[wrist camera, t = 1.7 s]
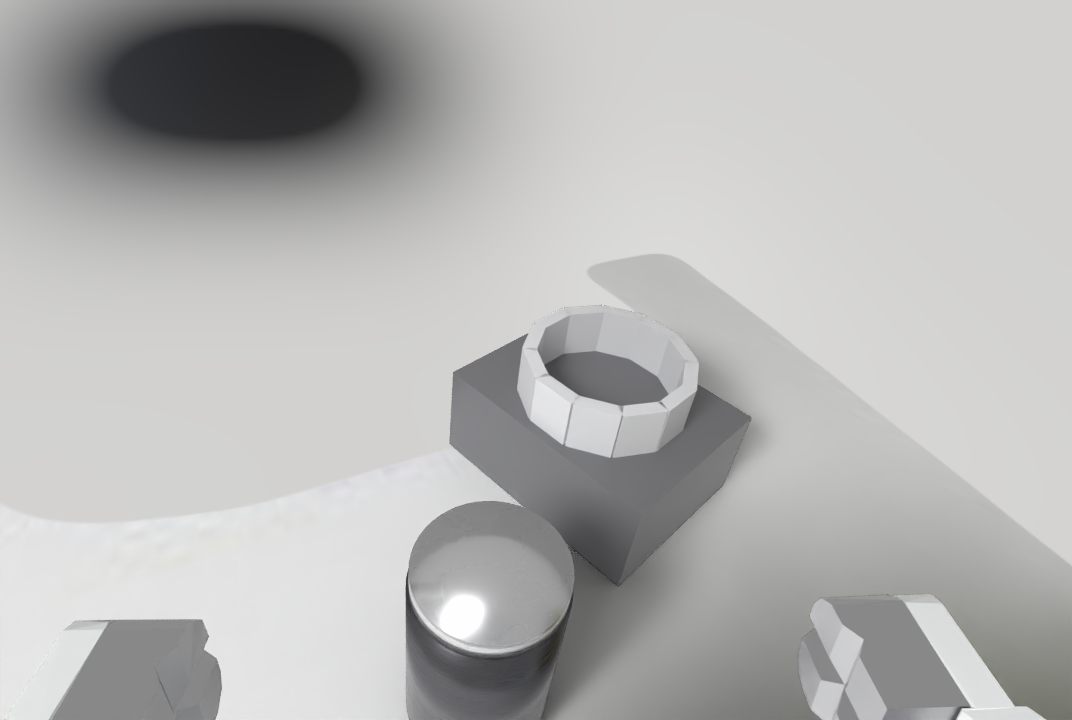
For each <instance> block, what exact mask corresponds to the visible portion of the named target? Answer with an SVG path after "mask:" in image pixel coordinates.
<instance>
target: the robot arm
mask: <svg viewBox="0 0 1072 720" xmlns="http://www.w3.org/2000/svg"><path fill="white" fill-rule="evenodd" d="M810 618H811V620H812V622H813V625H814V627H815V628H814V629H813V630H812V631H811V632H809V633H808V634H807V635H805V636H804V637H803V638H802V641H801V645H800V648H799V652H798V667H799V677H800V681H801V685H802V689H803V692H804V695H805V697H806V700H807V702H808V704H809V707H810V709H811V711H813V712H814V713H815V714H816V715H817V716H818V717H820V718H821V719H822V720H1046V719H1045V718H1043V717H1042V716H1040V715H1039V714H1037V713H1036V712H1035V711H1033V710H1032V709H1030V708H1029V707H1027V706H1015V705H1014V704H1013V703H1012V701H1011V700H1010V698H1009V697H1008V695H1007V694H1006V693H1005V691H1004V690H1003V688H1002V687H1001V686H1000V684H999V683H998V681H997V680H996V679H995V677H994V676H993V674H992V673H991V671H990V670H989V669H988V667H987V666H986V664H985V663H984V662H983V660H982V659H981V657H980V656H979V655H978V653H977V652H976V650H975V649H974V648H973V646H972V645H971V643H970V642H969V640H968V639H967V638H966V636H965V635H964V633H963V632H962V631H961V629H960V628H959V626H958V625H957V624H956V622H955V621H954V619H953V618H952V617H951V615H950V614H949V612H948V611H947V609H946V608H945V607H944V605H943V604H942V603H941V601H940V600H938V599H937V598H936V597H934V596H933V595H931V594H916V595H893V596H890V595H869V596H848V597H827V598H820V599H819V600H818V601H816V602H815V603H814V605H813V608H812V611H811V613H810ZM208 637H209V635H208V633H207V630H206V628H205V625H204V623H203V621H202V620H93V621H75V622H73V623H72V624H71V625H70V626H68V627H67V628H66V629H65V630H63V631H62V632H61V633H60V635H59V636H58V638H57V639H56V641H55V643H54V644H53V646H52V647H51V649H50V650H49V652H48V653H47V655H46V656H45V658H44V659H43V661H42V663H41V664H40V666H39V667H38V669H37V670H36V672H35V673H34V675H33V676H32V678H31V679H30V681H29V682H28V684H27V686H26V687H25V689H24V690H23V692H22V693H21V695H20V696H19V698H18V699H17V701H16V702H15V704H14V706H13V707H12V709H11V710H10V712H9V713H8V715H7V716H6V718H5V719H4V720H215V719H216V716H217V713H218V709H219V702H220V696H221V690H222V683H221V671H220V668H219V664H218V661H217V659H216V658H215V657H213V656H212V655H211V654H209V653H208V652H206V651H205V650H204V647H205V645H206V642H207V640H208Z"/></svg>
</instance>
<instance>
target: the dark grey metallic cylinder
mask: <svg viewBox="0 0 1072 720" xmlns="http://www.w3.org/2000/svg"><path fill="white" fill-rule="evenodd" d="M574 580H575V570H574V563H573V559H572V556H571V552H570V550H569V548H568V546H567V544H566V542H565V541H564V539H563V537H562V536H561V535H560V534H559V532H558V531H557V530H556V529H555V528H554V527H553V526H552V525H551V524H550V523H549V522H548V521H546V520H545V519H544V518H542V517H541V516H539V515H538V514H536V513H534V512H533V511H530V510H528V509H526V508H524V507H521V506H518V505H514V504H510V503H505V502H497V501H482V502H473V503H469V504H464V505H461V506H458V507H455V508H453V509H451V510H449V511H447V512H445V513H443V514H442V515H440V516H438V517H437V518H436V519H435V520H433V521H432V522H431V523H430V524H429V525H428V526H427V527H426V528H425V529H424V530H423V532H422V533H421V534H420V536H419V537H418V539H417V541H416V542H415V544H414V547H413V549H412V552H411V556H410V560H409V568H408V573H407V577H406V705H407V713H408V718H409V720H541V718H542V715H543V711H544V707H545V703H546V700H547V696H548V692H549V688H550V685H551V681H552V677H553V673H554V670H555V666H556V662H557V658H558V655H559V651H560V647H561V643H562V640H563V636H564V632H565V628H566V625H567V621H568V617H569V613H570V610H571V606H572V600H573V587H574Z"/></svg>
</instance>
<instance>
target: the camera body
mask: <svg viewBox="0 0 1072 720" xmlns="http://www.w3.org/2000/svg"><path fill="white" fill-rule="evenodd" d="M698 362H699V361H698V360H697V358H696V357H695V355H694V354H693V353H692V351H691V350H690V349H689V347H688V346H687V345H686V343H685V342H684V340H683V339H682V338H681V336H680V335H678V334H677V333H676V332H674V331H672V330H670V329H669V328H667V327H665V326H663V325H662V324H660V323H658V322H657V321H655V320H653V319H651V318H650V317H648V316H646V315H644V316H643V314H640V313H636V312H632V311H627V310H623V309H619V308H614V307H610V306H605V305H604V306H602V305H594V306H578V307H564V309H563V308H561V309H559V310H557V311H555V312H553V313H551V314H550V315H547V316H545V317H543V318H541V319H539V320H537V321H536V322H534V323H533V324H532V327H531V329H530V331H529V333H528V334H526V335H524V336H522V337H520V338H518V339H516V340H514V341H512V342H511V343H509V344H507V345H505V346H503V347H501V348H499V349H497V350H495V351H493V352H491V353H489V354H487V355H485V356H484V357H482V358H480V359H478V360H476V361H474V362H472V363H470V364H468V365H466V366H464V367H462V368H460V369H459V370H457V371H455V372H453V388H452V407H451V425H450V444H451V445H452V446H453V447H454V448H455V449H456V450H458V451H459V452H460V453H461V454H462V455H464V456H465V457H466V458H467V459H468V460H469V461H471V462H472V463H473V464H474V465H475V466H477V467H478V468H479V469H480V470H481V471H482V472H484V473H485V474H486V475H487V476H488V477H489V478H491V479H492V480H493V481H494V482H495V483H497V484H498V485H499V486H500V487H501V488H502V489H504V490H505V491H506V492H507V493H508V494H510V495H511V496H512V497H513V498H514V499H515V500H517V501H518V502H519V503H520V504H521V505H523V506H524V507H525V508H526V509H528V510H530V511H533V512H534V513H536V514H538V515H539V516H541V517H542V518H544V519H545V520H546V521H548V522H549V523H550V524H551V525H552V526H553V527H554V528H555V529H556V530H557V531H558V532H559V534H560V535H561V536H562V537H563V539H564V541H565V542H566V543H567V544H569V545H570V546H571V547H572V548H573V549H574V550H576V551H577V552H578V553H579V554H580V555H582V556H583V557H584V558H585V559H586V560H587V561H589V562H590V563H591V564H592V565H593V566H595V567H596V568H597V569H598V570H599V571H600V572H602V573H603V574H604V575H605V576H606V577H608V578H609V579H610V580H611V581H612V582H613V583H615V584H616V585H617V586H619V585H620V584H621V583H622V582H623V581H624V580H625V579H626V578H627V577H628V576H629V575H630V574H631V573H633V572H634V571H635V570H636V569H637V568H638V567H639V566H640V565H641V564H642V563H643V562H644V561H645V560H646V559H647V558H648V557H649V556H650V555H651V554H652V553H653V552H654V551H655V550H656V549H657V548H658V547H659V546H660V545H662V544H663V543H664V542H665V541H666V540H667V539H668V538H669V537H670V536H671V535H672V534H673V533H674V532H675V531H676V530H677V529H678V528H679V527H680V526H681V525H682V524H683V523H684V522H685V521H686V520H687V519H688V518H689V517H691V516H692V515H693V514H694V513H695V512H696V511H697V510H698V509H699V508H700V507H701V506H702V505H703V504H704V503H705V502H706V501H707V500H708V499H709V498H710V497H711V496H712V495H713V494H714V493H715V492H716V491H717V490H718V489H719V488H721V487H722V486H723V483H724V481H725V479H726V476H727V474H728V472H729V469H730V467H731V465H732V462H733V460H734V458H735V456H736V453H737V451H738V449H739V446H740V444H741V442H742V439H743V437H744V435H745V432H746V430H747V428H748V425H749V423H750V421H751V417H750V416H748V415H746V414H745V413H743V412H742V411H740V410H738V409H737V408H735V407H733V406H732V405H730V404H728V403H727V402H725V401H724V400H722V399H720V398H719V397H717V396H715V395H714V394H712V393H711V392H709V391H707V390H706V389H704V388H702V387H701V386H699V385H698V371H699V363H698Z"/></svg>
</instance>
